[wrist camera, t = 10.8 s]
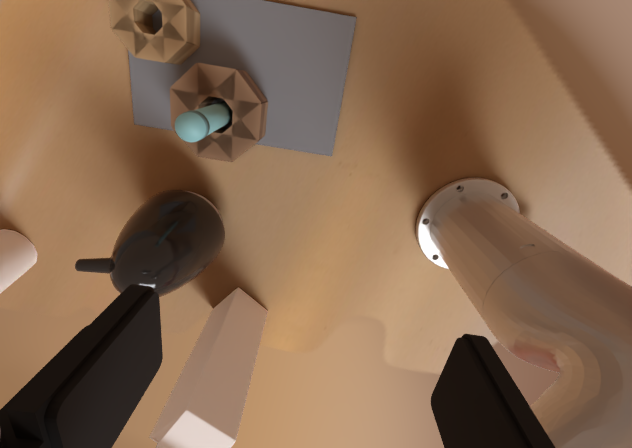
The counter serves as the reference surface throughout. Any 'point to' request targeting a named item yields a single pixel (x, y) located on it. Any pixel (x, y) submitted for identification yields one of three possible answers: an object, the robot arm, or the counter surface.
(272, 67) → the mat
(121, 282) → the pump dispenser
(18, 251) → the foam cup
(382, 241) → the counter surface
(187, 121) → the teal rounded rod
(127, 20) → the oak bead
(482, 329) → the counter surface
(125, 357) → the robot arm
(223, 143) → the bead
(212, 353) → the milk
